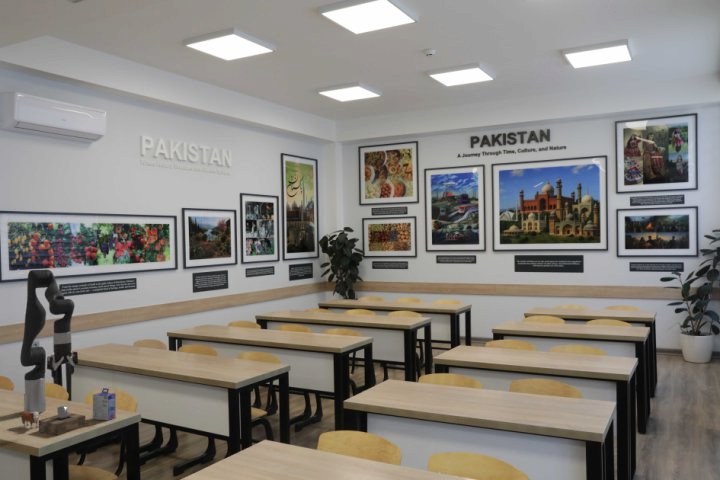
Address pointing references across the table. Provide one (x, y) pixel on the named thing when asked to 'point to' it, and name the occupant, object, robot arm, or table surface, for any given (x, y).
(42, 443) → the table surface
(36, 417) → the bull figurine
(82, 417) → the docking block
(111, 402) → the ink cartridge box
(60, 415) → the peg
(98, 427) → the table surface
